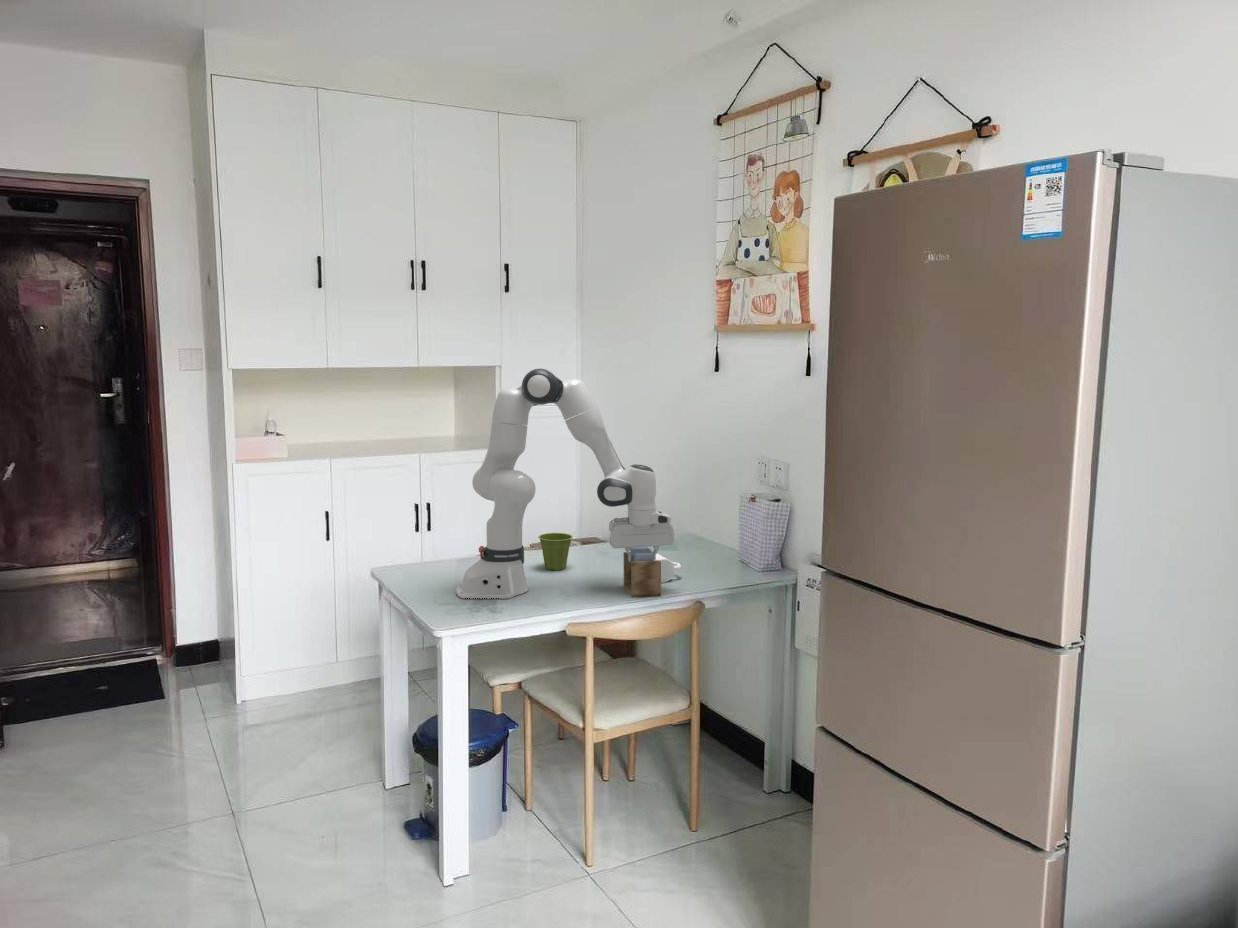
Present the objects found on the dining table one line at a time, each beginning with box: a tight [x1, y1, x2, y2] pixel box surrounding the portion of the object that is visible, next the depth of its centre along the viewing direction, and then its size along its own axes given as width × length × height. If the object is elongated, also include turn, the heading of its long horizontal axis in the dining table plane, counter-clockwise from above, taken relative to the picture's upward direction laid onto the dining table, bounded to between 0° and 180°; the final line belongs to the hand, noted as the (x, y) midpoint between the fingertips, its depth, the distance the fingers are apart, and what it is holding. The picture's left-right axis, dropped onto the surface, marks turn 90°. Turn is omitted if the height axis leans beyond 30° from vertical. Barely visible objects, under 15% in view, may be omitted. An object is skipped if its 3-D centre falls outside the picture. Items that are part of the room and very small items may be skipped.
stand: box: [623, 551, 662, 599], centre depth 283 cm, size 9×14×11 cm, turn 11°
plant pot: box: [537, 532, 574, 571], centre depth 311 cm, size 12×12×11 cm
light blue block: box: [629, 546, 654, 563], centre depth 283 cm, size 6×10×5 cm, turn 11°
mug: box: [656, 553, 682, 584], centre depth 298 cm, size 12×10×8 cm
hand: (642, 560), depth 283 cm, fingers closed on light blue block, 5 cm apart
